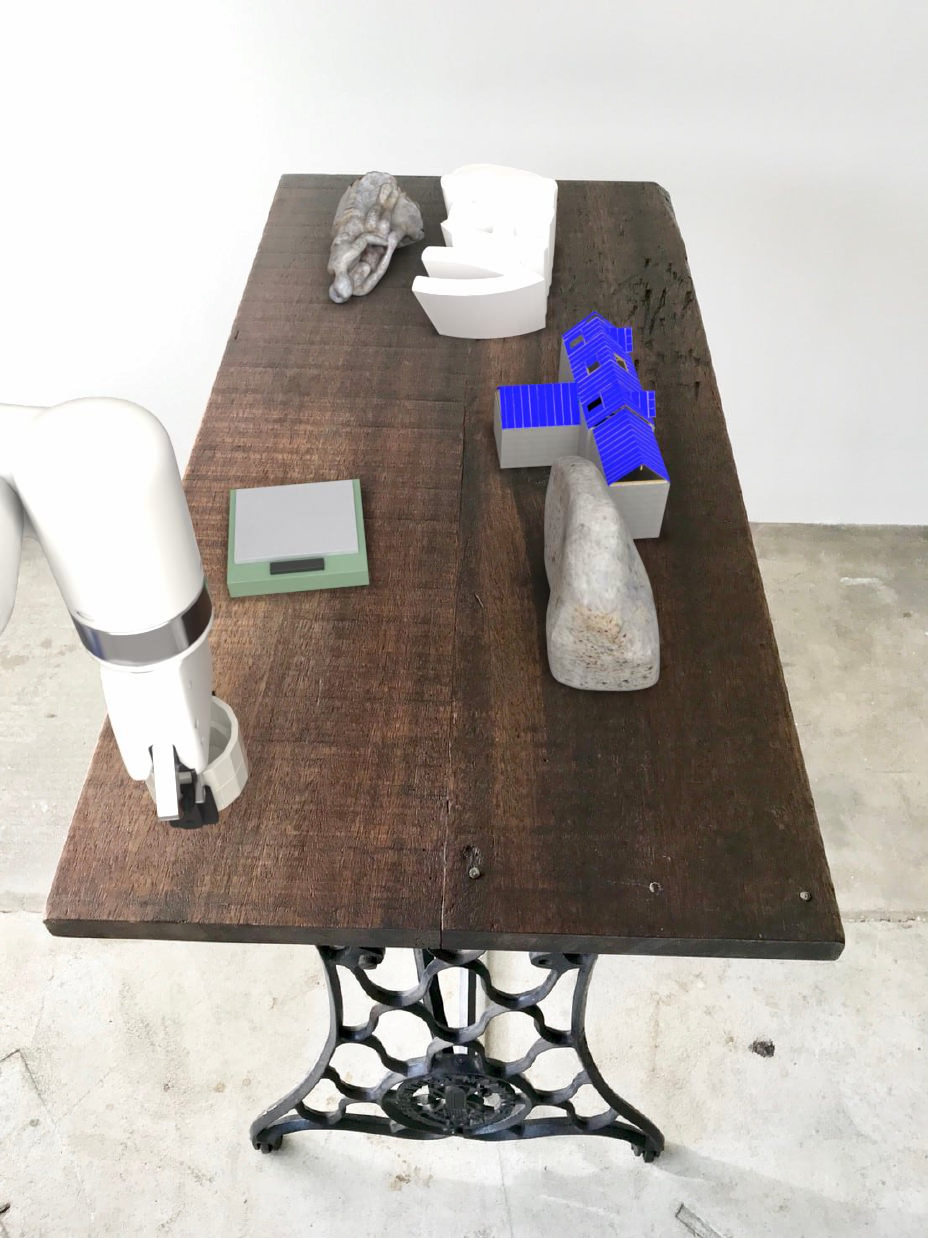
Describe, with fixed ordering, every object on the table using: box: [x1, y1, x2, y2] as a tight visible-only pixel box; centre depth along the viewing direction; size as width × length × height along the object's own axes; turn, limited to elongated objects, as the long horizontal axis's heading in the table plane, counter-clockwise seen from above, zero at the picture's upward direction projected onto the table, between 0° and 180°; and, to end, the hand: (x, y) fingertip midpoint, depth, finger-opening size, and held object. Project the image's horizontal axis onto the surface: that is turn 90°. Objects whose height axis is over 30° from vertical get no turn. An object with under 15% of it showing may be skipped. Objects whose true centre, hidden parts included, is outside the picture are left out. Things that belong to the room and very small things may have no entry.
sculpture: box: [326, 170, 426, 304], centre depth 125 cm, size 11×18×12 cm
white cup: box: [144, 695, 249, 812], centre depth 67 cm, size 7×7×6 cm
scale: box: [226, 478, 370, 598], centre depth 94 cm, size 13×13×3 cm
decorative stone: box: [543, 456, 661, 692], centre depth 82 cm, size 17×20×10 cm
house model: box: [493, 310, 671, 540], centre depth 100 cm, size 25×15×10 cm, turn 5°
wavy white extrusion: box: [411, 163, 559, 340], centre depth 123 cm, size 35×16×10 cm, turn 170°
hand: (198, 772), depth 68 cm, fingers closed on white cup, 7 cm apart
